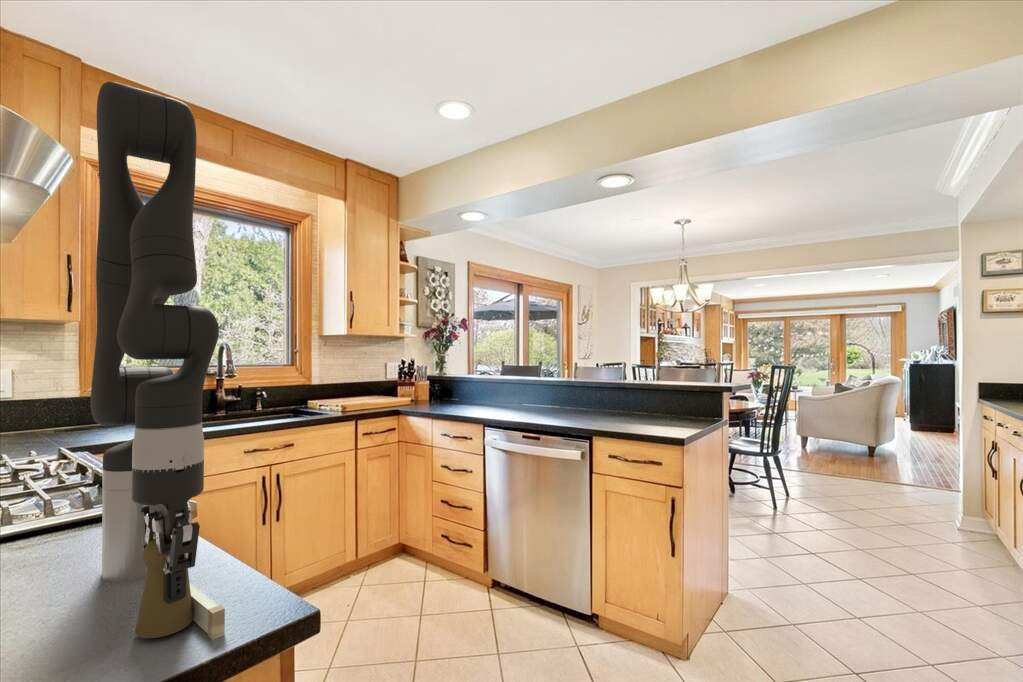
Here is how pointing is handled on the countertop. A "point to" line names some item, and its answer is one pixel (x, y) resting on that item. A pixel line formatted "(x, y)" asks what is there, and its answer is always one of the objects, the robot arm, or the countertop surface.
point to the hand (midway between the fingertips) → (167, 592)
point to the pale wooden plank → (216, 622)
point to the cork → (160, 600)
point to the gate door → (200, 607)
